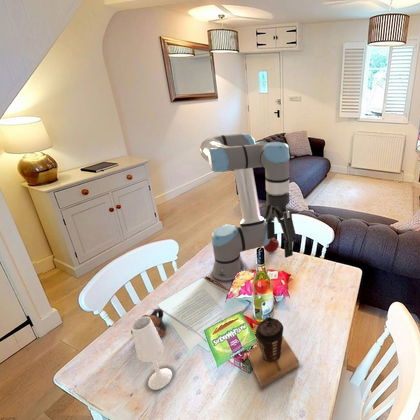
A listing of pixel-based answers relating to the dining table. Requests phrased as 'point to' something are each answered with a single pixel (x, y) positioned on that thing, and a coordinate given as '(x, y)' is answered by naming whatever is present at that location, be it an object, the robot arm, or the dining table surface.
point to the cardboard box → (272, 364)
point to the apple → (272, 245)
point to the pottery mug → (157, 321)
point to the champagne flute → (150, 350)
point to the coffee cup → (270, 339)
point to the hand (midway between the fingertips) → (279, 246)
